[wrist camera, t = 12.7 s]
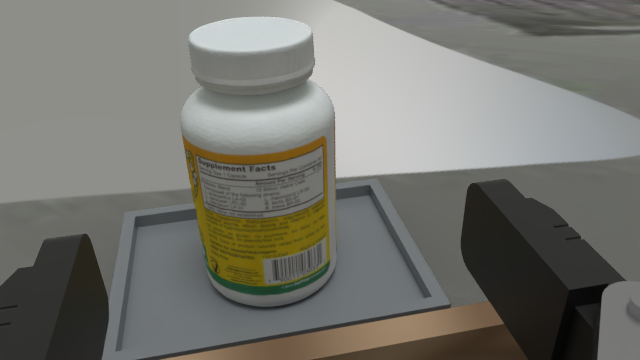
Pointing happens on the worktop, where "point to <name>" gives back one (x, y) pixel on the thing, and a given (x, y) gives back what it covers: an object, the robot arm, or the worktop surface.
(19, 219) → the worktop surface
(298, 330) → the tray
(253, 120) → the supplement bottle
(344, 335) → the wooden frame
